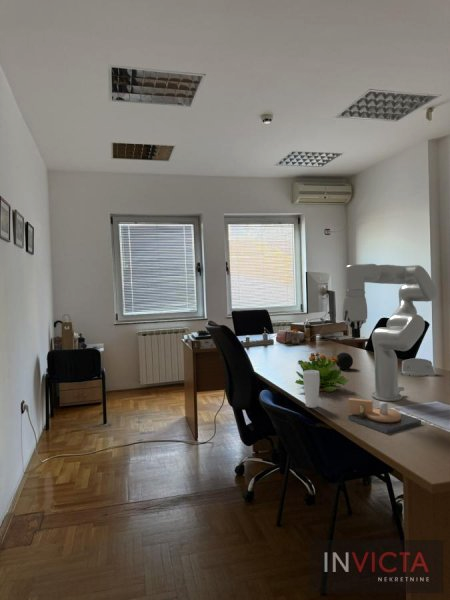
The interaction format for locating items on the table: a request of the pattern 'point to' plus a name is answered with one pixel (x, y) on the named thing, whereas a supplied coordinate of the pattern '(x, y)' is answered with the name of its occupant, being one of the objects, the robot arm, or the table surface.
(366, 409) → the wooden lever dial
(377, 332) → the robot arm
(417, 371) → the white arched block
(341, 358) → the decorative ball
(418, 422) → the base plate
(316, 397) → the drinking glass
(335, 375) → the potted flower
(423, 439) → the table surface
